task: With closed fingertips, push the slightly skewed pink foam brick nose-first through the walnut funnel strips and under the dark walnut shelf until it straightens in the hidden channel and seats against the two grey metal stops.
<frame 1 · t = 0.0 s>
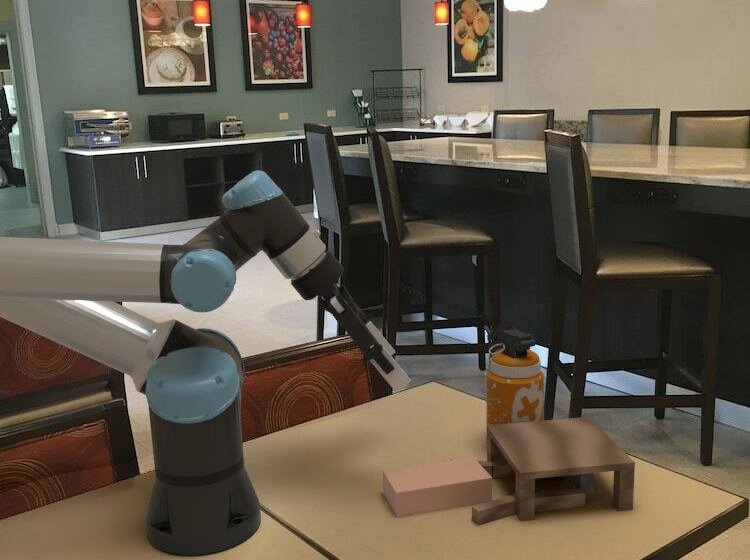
hand: (395, 370, 121), 15 cm above the table, tool tilted 35°, fingers open, 13 cm apart
canister: (510, 446, 129), on the table
shelf: (555, 487, 115), on the table
pink foam brick: (436, 499, 113), on the table
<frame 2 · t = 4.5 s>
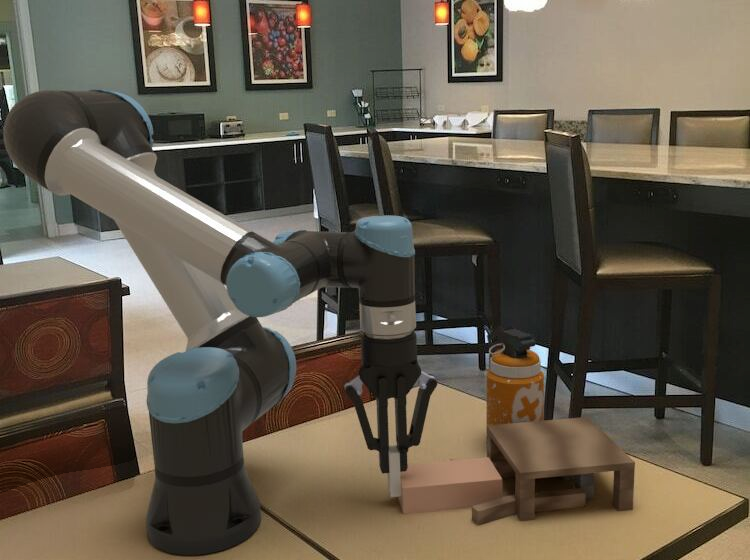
hand: (394, 492, 112), 2 cm above the table, tool pointing down, fingers closed
pink foam brick: (447, 497, 113), on the table, touching gripper
everything else where it was.
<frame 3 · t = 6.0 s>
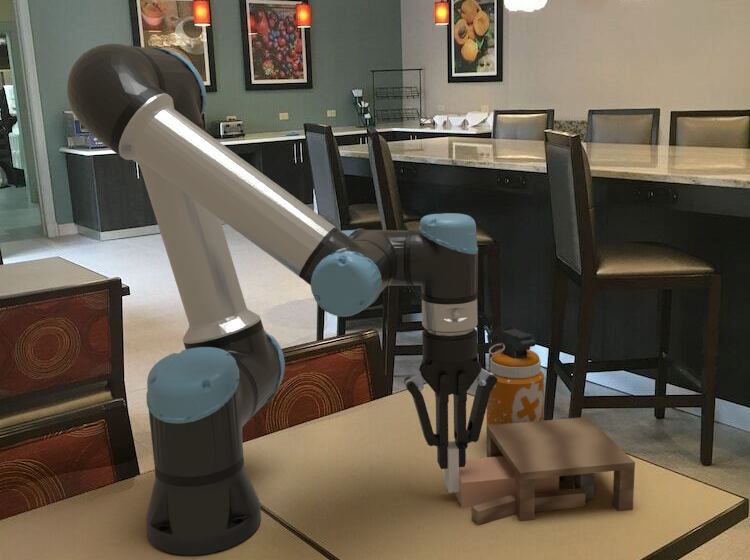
hand: (451, 487, 113), 2 cm above the table, tool pointing down, fingers closed
pink foam brick: (503, 492, 114), on the table
everything else where it was.
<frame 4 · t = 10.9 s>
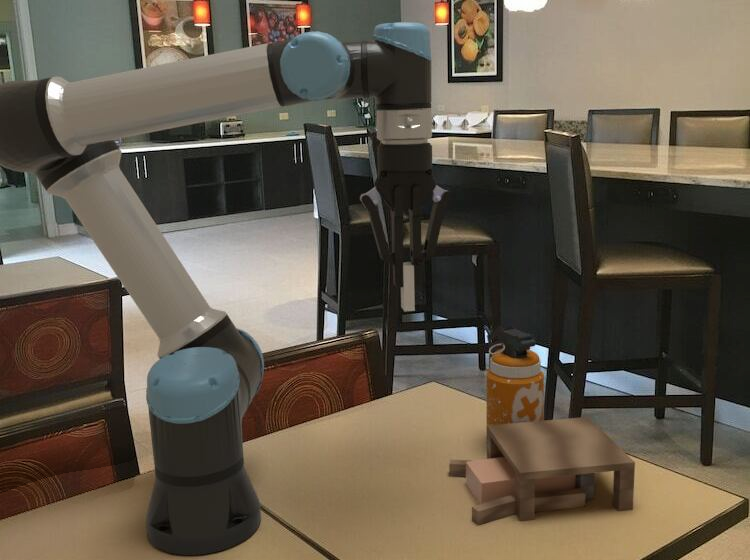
hand: (407, 308, 113), 26 cm above the table, tool pointing down, fingers closed
pink foam brick: (519, 491, 115), on the table
everything else where it was.
at the end: pink foam brick 0.5 cm from the target spot on the shelf, point 0.0 cm above the shelf's base; pink foam brick tilted 0° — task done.
